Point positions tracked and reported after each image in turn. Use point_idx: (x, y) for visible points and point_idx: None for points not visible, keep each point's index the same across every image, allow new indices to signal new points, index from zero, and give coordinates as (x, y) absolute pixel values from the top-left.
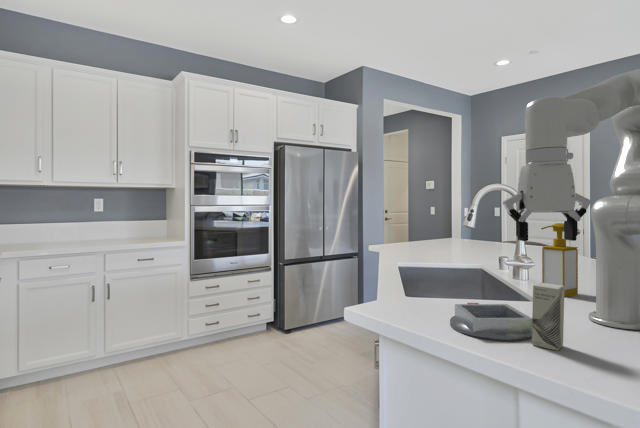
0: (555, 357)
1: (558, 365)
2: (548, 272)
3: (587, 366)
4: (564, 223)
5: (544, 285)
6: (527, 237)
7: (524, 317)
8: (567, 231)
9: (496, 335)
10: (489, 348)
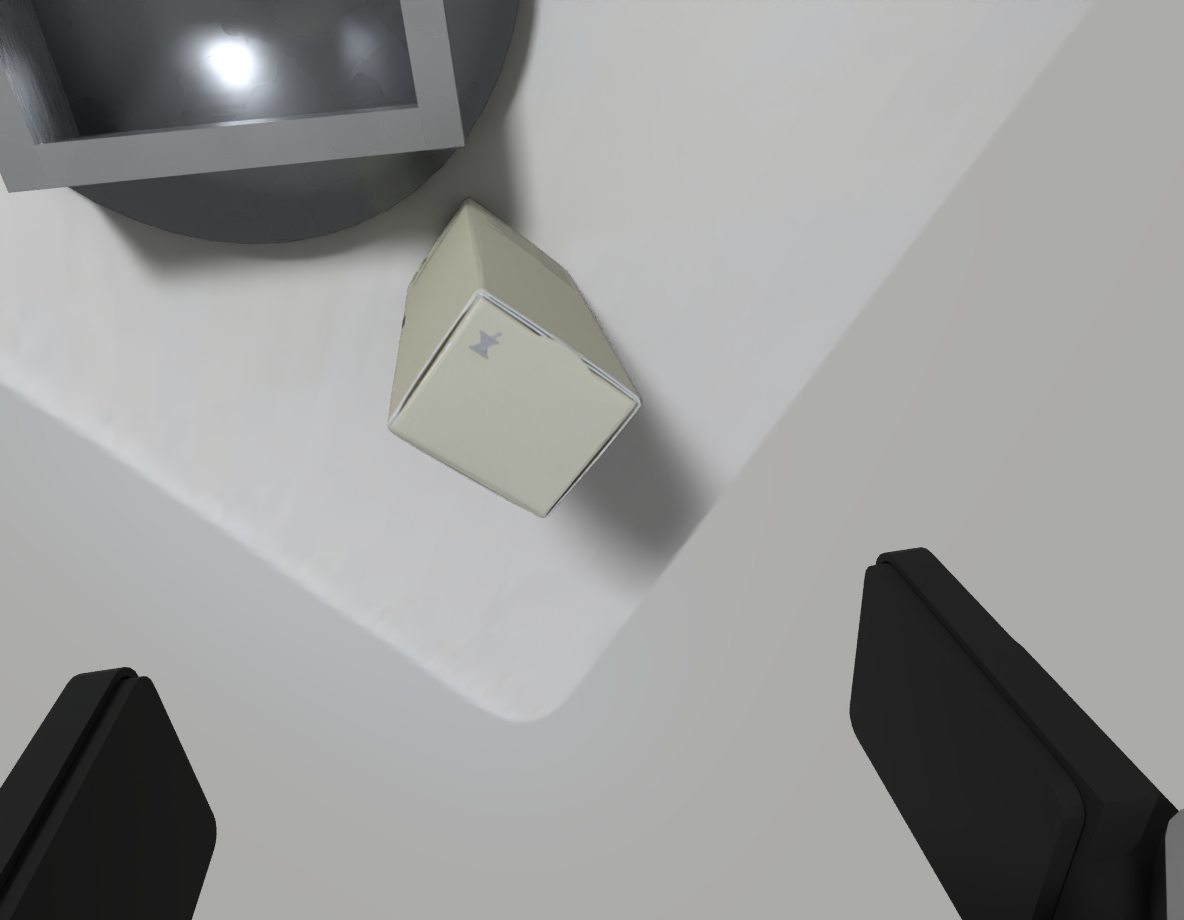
0: None
1: (446, 512)
2: None
3: None
4: (1029, 779)
5: (475, 437)
6: (195, 875)
7: (415, 90)
8: (923, 724)
9: (212, 224)
10: (167, 361)
